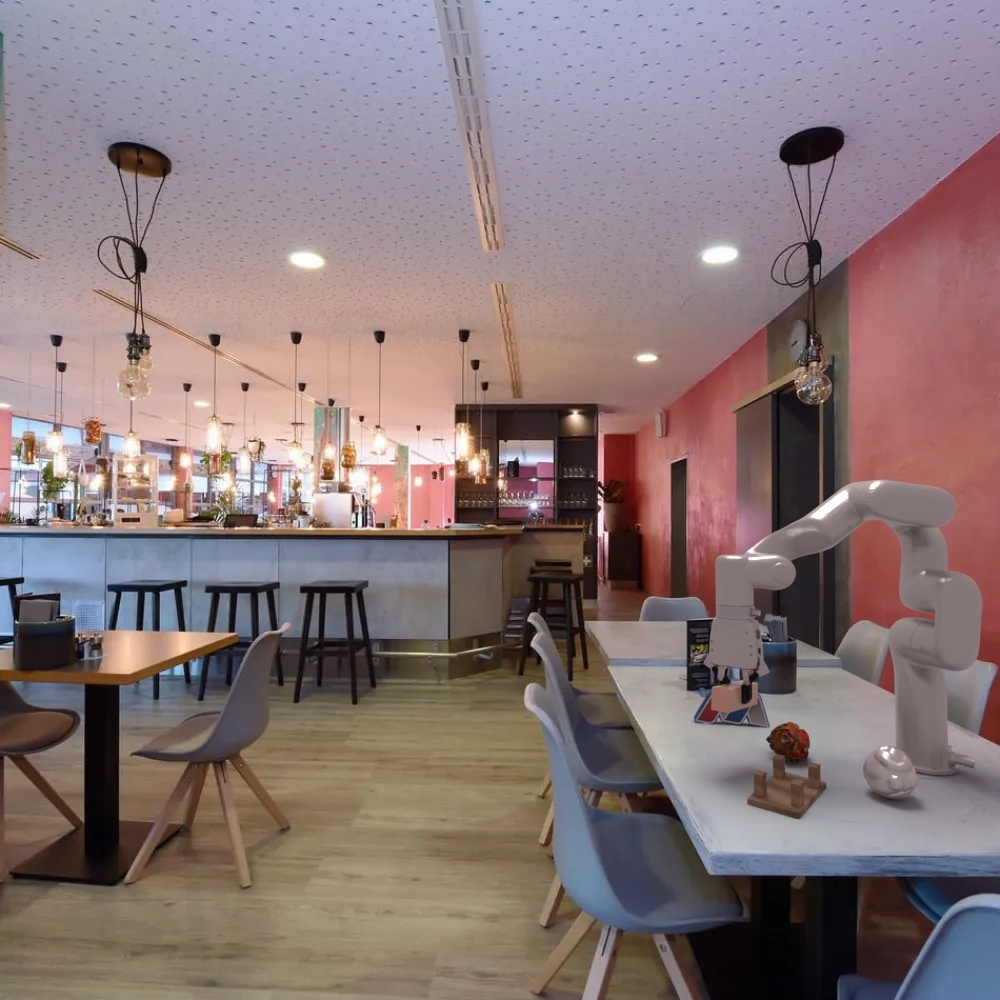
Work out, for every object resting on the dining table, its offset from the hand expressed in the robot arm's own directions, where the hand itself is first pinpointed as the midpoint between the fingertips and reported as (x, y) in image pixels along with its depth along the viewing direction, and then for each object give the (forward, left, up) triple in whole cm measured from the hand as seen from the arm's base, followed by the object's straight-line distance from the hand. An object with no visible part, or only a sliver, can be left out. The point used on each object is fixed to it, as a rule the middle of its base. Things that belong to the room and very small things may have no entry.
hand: (736, 700), depth 131 cm
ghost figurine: (-26, -7, -15) cm, 31 cm away
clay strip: (0, 0, -1) cm, 1 cm away
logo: (+13, -32, -15) cm, 38 cm away
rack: (-11, +5, -15) cm, 19 cm away
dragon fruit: (-5, -16, -15) cm, 23 cm away
